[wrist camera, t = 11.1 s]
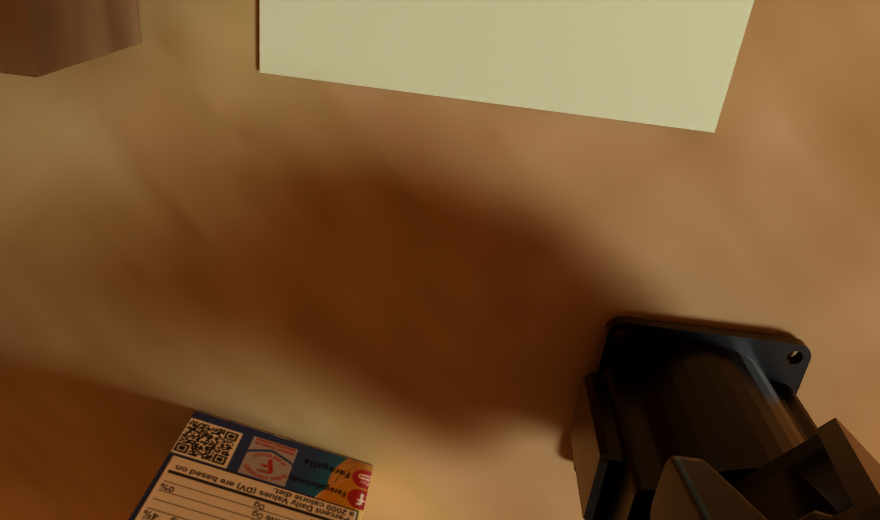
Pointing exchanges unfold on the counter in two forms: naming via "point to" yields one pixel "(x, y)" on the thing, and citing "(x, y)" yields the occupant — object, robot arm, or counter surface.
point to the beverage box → (251, 478)
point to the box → (63, 33)
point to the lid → (521, 52)
